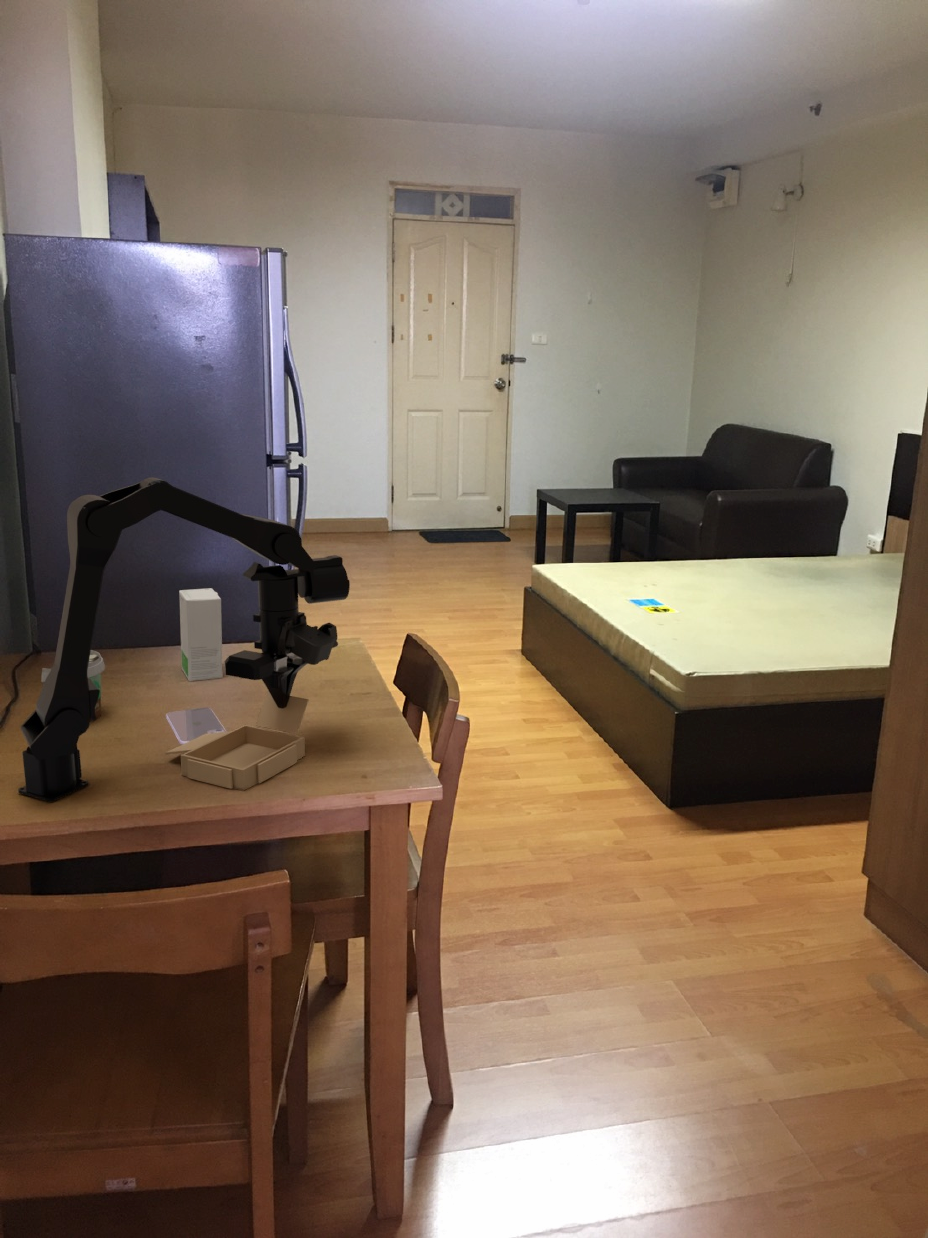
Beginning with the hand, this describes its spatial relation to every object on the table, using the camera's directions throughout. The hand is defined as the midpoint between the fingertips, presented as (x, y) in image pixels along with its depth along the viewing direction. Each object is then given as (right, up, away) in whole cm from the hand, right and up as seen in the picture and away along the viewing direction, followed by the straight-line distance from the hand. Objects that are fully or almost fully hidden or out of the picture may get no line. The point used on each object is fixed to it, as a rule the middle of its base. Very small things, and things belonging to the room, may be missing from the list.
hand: (282, 707), depth 146 cm
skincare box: (-22, +3, +36) cm, 42 cm away
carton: (-4, -8, -6) cm, 11 cm away
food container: (-34, -3, +12) cm, 36 cm away
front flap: (-1, -3, -1) cm, 4 cm away
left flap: (-9, -4, -5) cm, 11 cm away
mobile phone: (-15, -4, +9) cm, 18 cm away
